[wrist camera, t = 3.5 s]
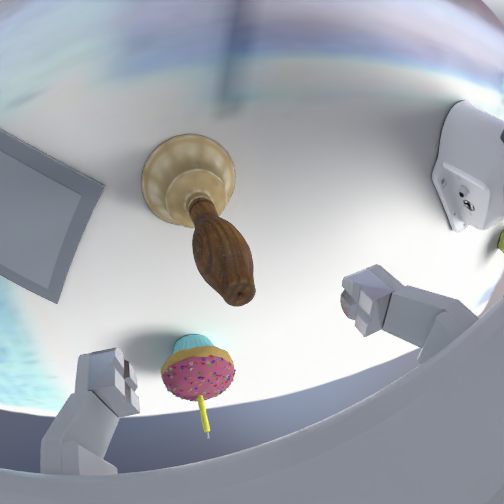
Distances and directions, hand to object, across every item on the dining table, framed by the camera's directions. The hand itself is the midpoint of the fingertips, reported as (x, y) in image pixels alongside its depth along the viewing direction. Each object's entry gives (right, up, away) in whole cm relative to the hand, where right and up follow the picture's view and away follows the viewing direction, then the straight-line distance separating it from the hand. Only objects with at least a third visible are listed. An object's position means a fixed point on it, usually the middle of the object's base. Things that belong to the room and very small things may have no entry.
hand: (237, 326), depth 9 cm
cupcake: (-7, -9, +25) cm, 27 cm away
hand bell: (-5, +9, +15) cm, 18 cm away
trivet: (-21, +6, +10) cm, 24 cm away
